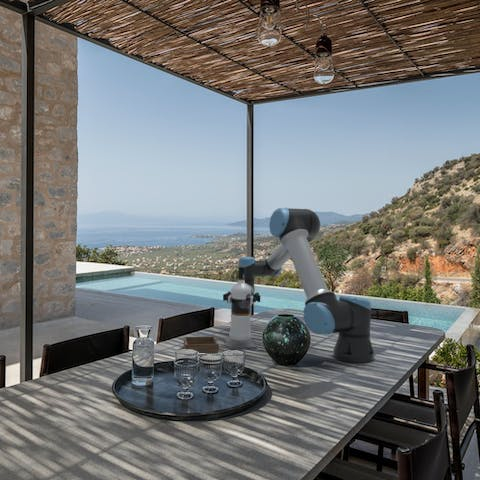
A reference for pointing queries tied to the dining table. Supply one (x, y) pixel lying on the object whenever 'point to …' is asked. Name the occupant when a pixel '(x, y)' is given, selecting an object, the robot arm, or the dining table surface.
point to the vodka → (240, 309)
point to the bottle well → (202, 344)
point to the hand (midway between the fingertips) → (240, 301)
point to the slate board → (240, 344)
